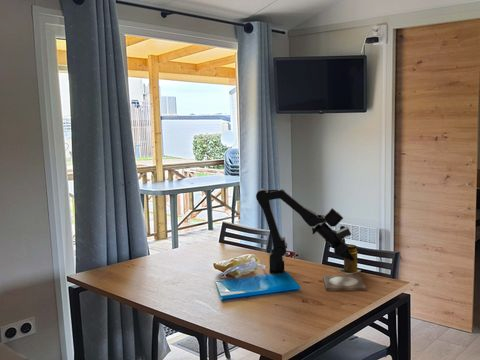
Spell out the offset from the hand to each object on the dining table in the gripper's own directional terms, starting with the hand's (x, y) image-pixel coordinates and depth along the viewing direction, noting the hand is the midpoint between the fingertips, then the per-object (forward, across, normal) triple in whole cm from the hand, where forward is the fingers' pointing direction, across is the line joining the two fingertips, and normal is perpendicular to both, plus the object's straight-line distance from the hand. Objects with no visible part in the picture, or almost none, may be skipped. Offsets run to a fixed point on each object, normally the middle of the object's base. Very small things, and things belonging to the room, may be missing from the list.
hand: (352, 257), depth 219 cm
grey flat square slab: (+1, -18, +9) cm, 20 cm away
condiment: (+4, 0, +6) cm, 7 cm away
